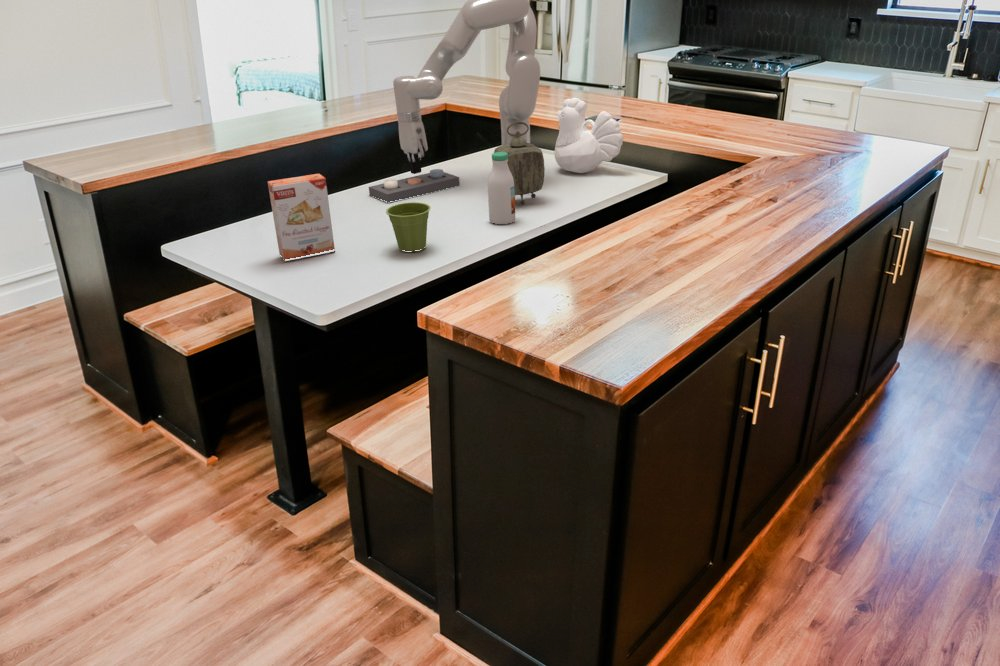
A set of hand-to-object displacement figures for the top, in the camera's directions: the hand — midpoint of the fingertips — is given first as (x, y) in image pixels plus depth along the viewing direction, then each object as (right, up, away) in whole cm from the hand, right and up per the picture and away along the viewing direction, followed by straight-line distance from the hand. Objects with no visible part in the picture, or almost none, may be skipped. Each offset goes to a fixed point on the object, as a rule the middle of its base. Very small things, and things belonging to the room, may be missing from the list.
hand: (416, 172), depth 261 cm
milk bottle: (+28, -21, -30) cm, 46 cm away
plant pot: (+4, -31, -48) cm, 57 cm away
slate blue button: (+6, -1, +7) cm, 9 cm away
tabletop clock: (+34, -13, -15) cm, 39 cm away
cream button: (-8, -6, -3) cm, 11 cm away
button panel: (-1, -6, +3) cm, 6 cm away
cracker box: (-24, -32, -49) cm, 63 cm away
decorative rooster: (+58, +3, +14) cm, 60 cm away
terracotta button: (-1, -5, +2) cm, 5 cm away
